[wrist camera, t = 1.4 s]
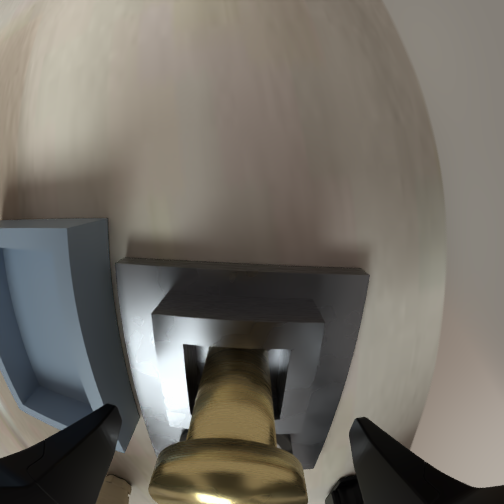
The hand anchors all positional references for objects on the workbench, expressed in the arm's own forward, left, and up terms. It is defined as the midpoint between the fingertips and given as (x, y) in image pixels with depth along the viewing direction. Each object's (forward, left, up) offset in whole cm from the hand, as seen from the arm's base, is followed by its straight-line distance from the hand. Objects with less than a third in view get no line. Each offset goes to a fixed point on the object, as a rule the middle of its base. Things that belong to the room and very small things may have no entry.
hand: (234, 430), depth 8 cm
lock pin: (0, 0, -5) cm, 5 cm away
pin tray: (+12, 0, -6) cm, 14 cm away
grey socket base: (0, +3, -6) cm, 7 cm away
